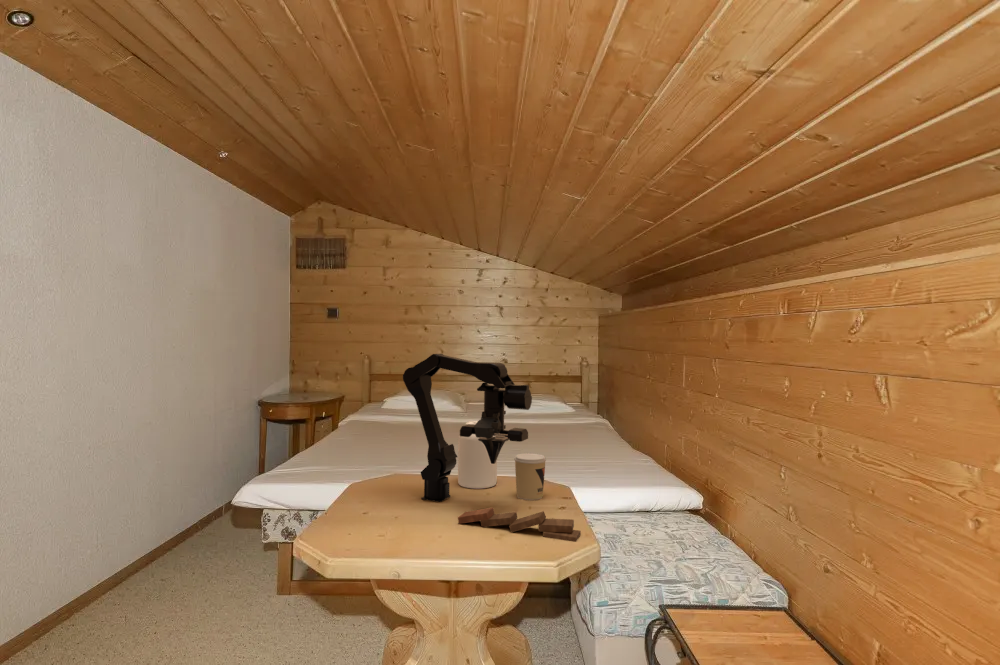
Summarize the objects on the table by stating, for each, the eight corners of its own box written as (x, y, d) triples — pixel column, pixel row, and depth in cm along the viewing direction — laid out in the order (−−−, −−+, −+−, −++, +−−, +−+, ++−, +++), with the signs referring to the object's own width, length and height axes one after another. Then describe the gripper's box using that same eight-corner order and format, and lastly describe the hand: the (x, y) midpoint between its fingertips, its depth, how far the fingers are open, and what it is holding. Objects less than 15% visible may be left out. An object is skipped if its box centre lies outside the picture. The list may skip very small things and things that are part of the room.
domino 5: (542, 532, 135) (576, 537, 132) (548, 526, 140) (580, 530, 137) (542, 539, 135) (575, 544, 132) (548, 532, 140) (580, 537, 137)
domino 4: (538, 524, 136) (571, 526, 134) (541, 518, 141) (573, 519, 139) (538, 531, 136) (572, 532, 134) (541, 524, 141) (573, 526, 139)
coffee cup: (543, 502, 164) (543, 460, 164) (511, 499, 166) (512, 458, 166) (547, 493, 173) (547, 454, 173) (516, 491, 175) (517, 452, 175)
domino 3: (509, 526, 138) (538, 517, 136) (515, 519, 143) (543, 511, 140) (511, 532, 138) (541, 523, 135) (517, 526, 143) (546, 517, 140)
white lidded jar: (457, 479, 188) (458, 419, 188) (494, 479, 189) (495, 419, 190) (458, 489, 176) (459, 425, 176) (498, 489, 177) (499, 425, 177)
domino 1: (457, 517, 143) (486, 512, 141) (464, 512, 148) (493, 507, 146) (459, 523, 143) (488, 519, 141) (466, 518, 148) (494, 513, 146)
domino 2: (480, 520, 142) (510, 517, 139) (487, 514, 146) (516, 511, 144) (481, 526, 142) (511, 524, 139) (488, 520, 146) (517, 518, 144)
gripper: (451, 408, 155) (450, 465, 155) (514, 413, 148) (513, 473, 148) (468, 404, 165) (467, 458, 165) (529, 408, 158) (528, 464, 158)
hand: (493, 463), depth 159 cm, fingers closed
